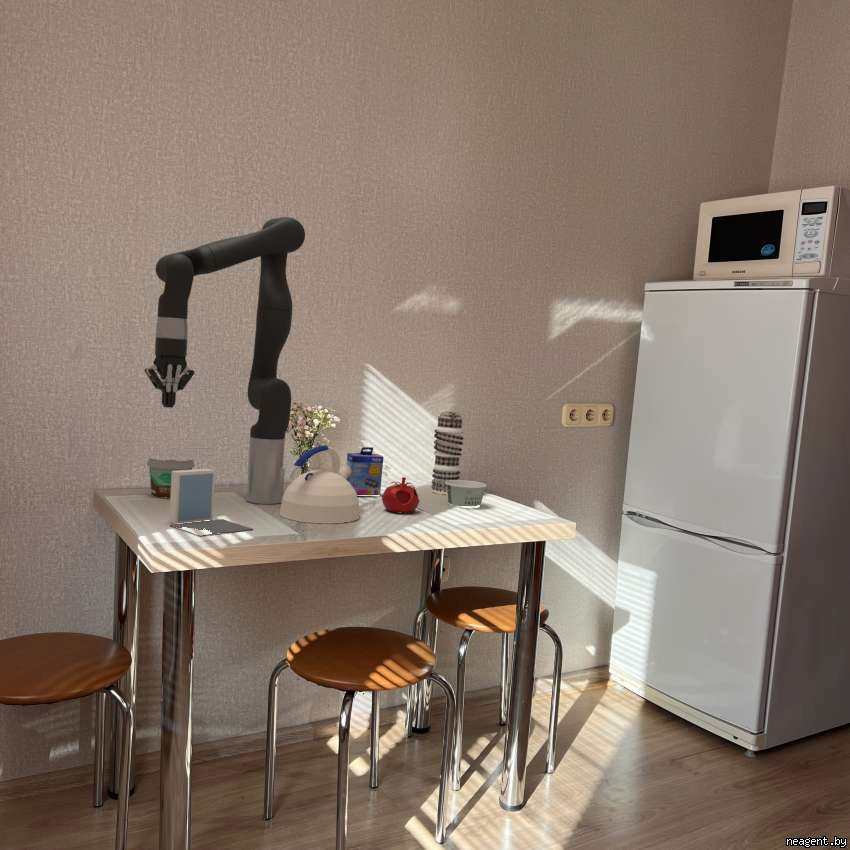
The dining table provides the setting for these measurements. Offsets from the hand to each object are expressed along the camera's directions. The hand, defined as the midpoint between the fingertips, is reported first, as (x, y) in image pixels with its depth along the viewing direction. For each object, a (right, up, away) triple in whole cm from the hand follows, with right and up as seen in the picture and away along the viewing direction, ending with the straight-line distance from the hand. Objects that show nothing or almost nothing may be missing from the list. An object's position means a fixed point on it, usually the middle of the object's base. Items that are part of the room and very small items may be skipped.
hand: (168, 407), depth 218 cm
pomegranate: (+57, -28, +20) cm, 66 cm away
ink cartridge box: (+45, -25, +40) cm, 65 cm away
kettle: (+37, -28, +6) cm, 46 cm away
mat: (+15, -28, -18) cm, 36 cm away
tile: (+9, -27, -12) cm, 31 cm away
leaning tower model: (+69, -26, +56) cm, 93 cm away
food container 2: (+75, -28, +36) cm, 87 cm away
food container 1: (-4, -24, +16) cm, 29 cm away
